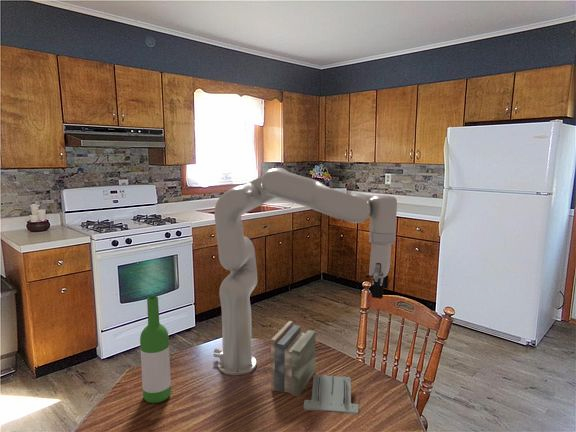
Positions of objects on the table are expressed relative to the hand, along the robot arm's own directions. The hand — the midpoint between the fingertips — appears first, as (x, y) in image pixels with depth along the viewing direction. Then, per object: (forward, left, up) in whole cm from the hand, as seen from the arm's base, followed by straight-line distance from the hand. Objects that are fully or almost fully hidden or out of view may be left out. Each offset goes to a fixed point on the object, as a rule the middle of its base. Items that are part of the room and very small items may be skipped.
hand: (379, 292), depth 122 cm
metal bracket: (-10, -15, -29) cm, 34 cm away
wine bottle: (-57, -34, -28) cm, 72 cm away
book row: (-23, -11, -28) cm, 38 cm away
